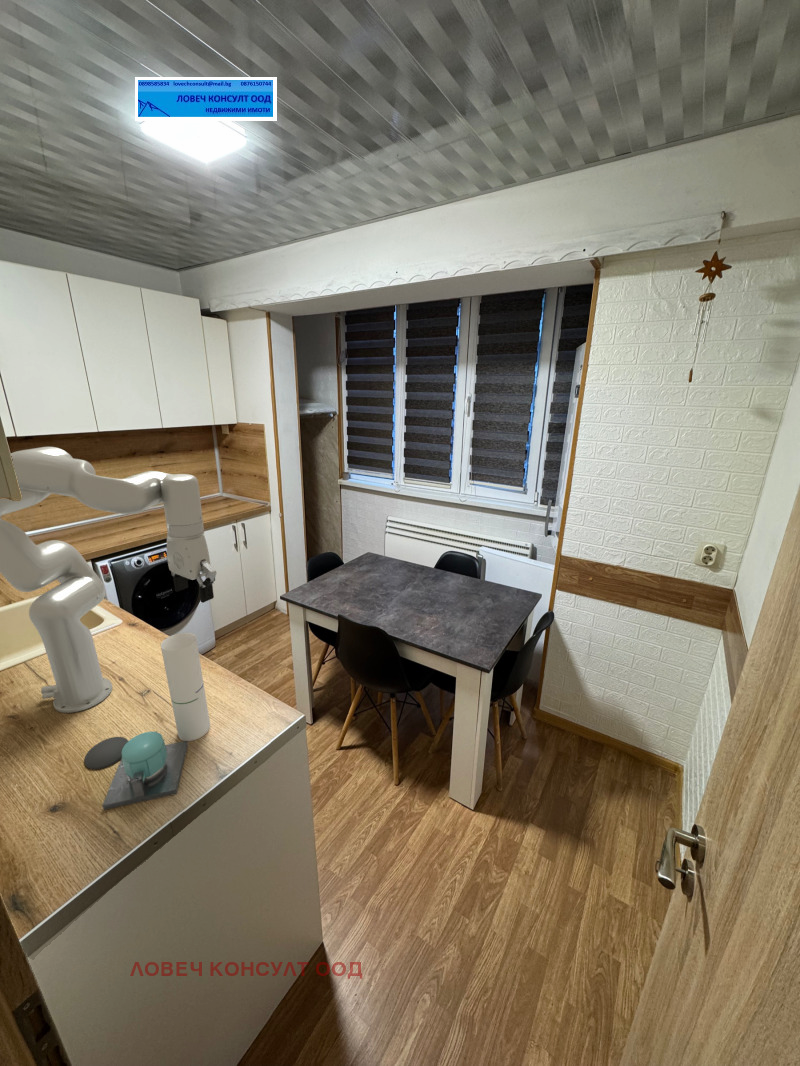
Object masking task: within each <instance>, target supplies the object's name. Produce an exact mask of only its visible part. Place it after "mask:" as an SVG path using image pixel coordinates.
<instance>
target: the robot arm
mask: <svg viewBox="0 0 800 1066" xmlns="http://www.w3.org/2000/svg"><path fill="white" fill-rule="evenodd" d="M10 454H11V456H12V459H13V464H14V468H15V472H16V476H17V480H18V484H19V488H20V491H21V495H22V499H21V500H20V501H12V500H9V499H0V574H1V575H2V577H4V579H5V580H6V581H7V582H8V583H9V584H10V585H11V586H12V587H13V588H14V589H15V590H18V592H21V593H22V592H23V593H30V592H34V591H37V590H40V589H42V588H44V587H45V586H47V585H49V584H52V583H53V582H55V581H56V580H57V581H58V582H59V584H58V585H56V586H54V587H52V588H51V589H48V590H47V591H45V592H44V593H42V594H41V595H38V597H37V598H36V599H34V600H33V602H32V603H31V604H30V607H29V609H28V615H29V616H28V617H29V619H30V621H31V623H32V625H33V626H34V627H35V629H36V631H37V632H38V634H39V636H40V638H41V641H42V644H43V647H44V650H45V653H46V655H47V659H48V662H49V665H50V669H51V673H52V676H53V679H54V681H55V684H54V685H47V686H46V685H45V686H41V689H40V693H41V695H42V696H41V698H42V699H43V700H44V699H50V698H53V699H54V700H53V707H54V709H55V710H56V711H58V712H60V713H63V714H64V713H66V714H68V713H69V714H71V713H77V712H82V711H84V710H87V709H90V708H92V707H94V706H96V705H98V704H99V703H101V702H102V701H104V700H105V699H106V698H107V697H109V695H110V694H111V693H112V691H113V690H112V689H113V684H112V681H111V680H110V679H109V678H106V677H103V672H102V670H101V665H100V661H99V657H98V654H97V653H98V652H97V650H96V646H95V642H94V641H95V640H94V638H93V635H92V632H91V630H90V629H89V628H88V627H87V626H86V624H83V622H82V621H81V619H82V617H83V616H84V615H86V614H87V613H89V612H90V611H91V610H93V609H94V608H95V607H98V605H99V604H101V603H102V602H103V600H104V599H105V596H106V594H107V593H106V588H105V584H104V583H103V582H102V579H101V578H100V577H99V576H98V574H97V573H96V572H95V570H94V569H93V568H92V567H91V566H90V564H89V563H88V562H87V561H86V558H85V557H83V555H82V554H81V553H80V551H78V550H77V548H76V547H74V546H73V545H72V544H70V543H67V542H66V541H63V540H57V539H54V540H53V539H52V540H46V541H44V542H41V543H39V544H36V543H35V542H34V541H33V540H32V539H30V537H29V536H28V535H27V533H26V532H25V531H24V530H23V529H22V528H20V527H19V526H17V525H16V524H13V523H12V522H9V521H8V520H4V519H2V516H4V515H7V514H11V513H15V512H17V511H21V510H23V509H27V508H30V507H33V506H35V505H37V504H39V503H41V502H42V501H44V500H45V499H46V498H48V497H49V496H50V495H57V496H58V495H61V496H64V497H69V498H70V497H71V498H75V499H76V501H79V502H80V503H81V504H83V505H85V506H86V507H88V508H91V509H93V510H96V511H103V512H106V513H107V512H108V513H115V514H121V515H123V514H124V515H132V514H138V513H139V514H140V513H141V512H143V511H146V510H147V509H150V508H152V507H155V506H157V505H160V504H163V510H164V516H165V523H166V531H167V533H166V534H167V535H166V557H165V558H166V561H167V564H168V565H167V566H168V569H169V571H170V572H171V574H170V575H171V576H172V577H173V584H174V591H175V592H177V593H178V592H181V591H183V590H185V589H188V588H189V581H188V580H192V581H193V580H196V582H198V584H199V586H198V591H199V592H198V593H199V600H200V602H201V603H203V604H205V603H206V602H208V601H210V600H213V599H214V595H215V594H214V589H213V587H214V586H213V585H214V584H215V583H214V582H215V581H216V576H217V571H216V570H215V568H213V567H212V566H211V559H210V554H209V549H208V544H207V540H206V538H205V529H204V519H203V512H202V501H201V494H200V493H201V492H200V485H199V480H198V478H197V477H196V476H195V475H192V474H189V473H177V474H171V473H167V472H162V471H156V470H147V471H143V472H141V473H137V474H134V475H130V476H128V477H124V478H115V477H113V478H112V477H108V476H101V475H96V474H97V473H96V470H95V468H94V466H93V465H92V463H90V462H89V461H88V460H84V459H80V458H73V456H72V455H71V454H70V453H69V452H67V451H66V450H64V449H62V448H59V447H55V446H42V447H36V448H35V447H34V448H29V449H22V450H17V451H13V452H12V453H10ZM203 577H205V579H204V580H203Z"/></svg>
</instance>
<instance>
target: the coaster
mask: <svg viewBox="0 0 800 1066" xmlns="http://www.w3.org/2000/svg"><path fill="white" fill-rule="evenodd" d="M128 741H129V739H127V738H126V737H124V736H114V737H110V738H109V737H108V738H106V739H103V740H101V741H100V742H98V743H96V744H95V745H93V746H92V747H91V748H90V749H89V750H88V751H87V752H86V754H85V756H84V764H85V767H87V768H88V769H90V770H102V769H105V768H108V767H111V766H113V765H114V764H116V763H118V762H120V761H121V758H122V749H123V747H124V746H125V744H126V743H127V742H128Z"/></svg>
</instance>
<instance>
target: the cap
mask: <svg viewBox="0 0 800 1066" xmlns="http://www.w3.org/2000/svg"><path fill="white" fill-rule="evenodd" d="M165 745H166V743H165V738H163V735H162V734H161V733H159V732H158V731H157V732H156V731H147V732H142V733H140V734H137V735H136V736H134V737H132V738H130V739H128V742H127V743H126V744H125V746H124V747H123V749H122V761H123V765H124V769H125V773H126V774H127V775H128V776H129V777H131V778H133V776H134V773H136V772H141V771H144V776H143V779H142V780H143V782H144V779H145V778H146V777H150V776H152V775H153V774H154V773H156V772H157V771H158V770H160V769H161V768H162V767H163V766H164V765H165V761H166V758H167V751H166V747H165Z"/></svg>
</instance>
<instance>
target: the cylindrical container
mask: <svg viewBox="0 0 800 1066" xmlns="http://www.w3.org/2000/svg"><path fill="white" fill-rule="evenodd" d="M197 639H198V638H197V636H196V634H194V633H191V632H181V633H175V634H173V635H170V636H168V637H166V638H164V639H163V640H162V642H161V643H160V648H161V655H162V660H163V666H164V670H165V675H166V679H167V685H168V690H169V694H170V695H169V697H170V700H171V705H172V706H171V707H172V711H173V712H172V713H173V715H174V721H175V727H176V733H177V736H178V738H179V739H180V740H181V741H188V742H192V741H195V740H198V739H200V738H202V737H203V736H205V735H206V734H207V733H208V732H209V730H210V729H211V721H210V716H209V715H210V714H209V708H208V703H207V696H206V689H205V685H204V678H203V671H202V666H201V659H200V652H199V647H198V641H197Z"/></svg>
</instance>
